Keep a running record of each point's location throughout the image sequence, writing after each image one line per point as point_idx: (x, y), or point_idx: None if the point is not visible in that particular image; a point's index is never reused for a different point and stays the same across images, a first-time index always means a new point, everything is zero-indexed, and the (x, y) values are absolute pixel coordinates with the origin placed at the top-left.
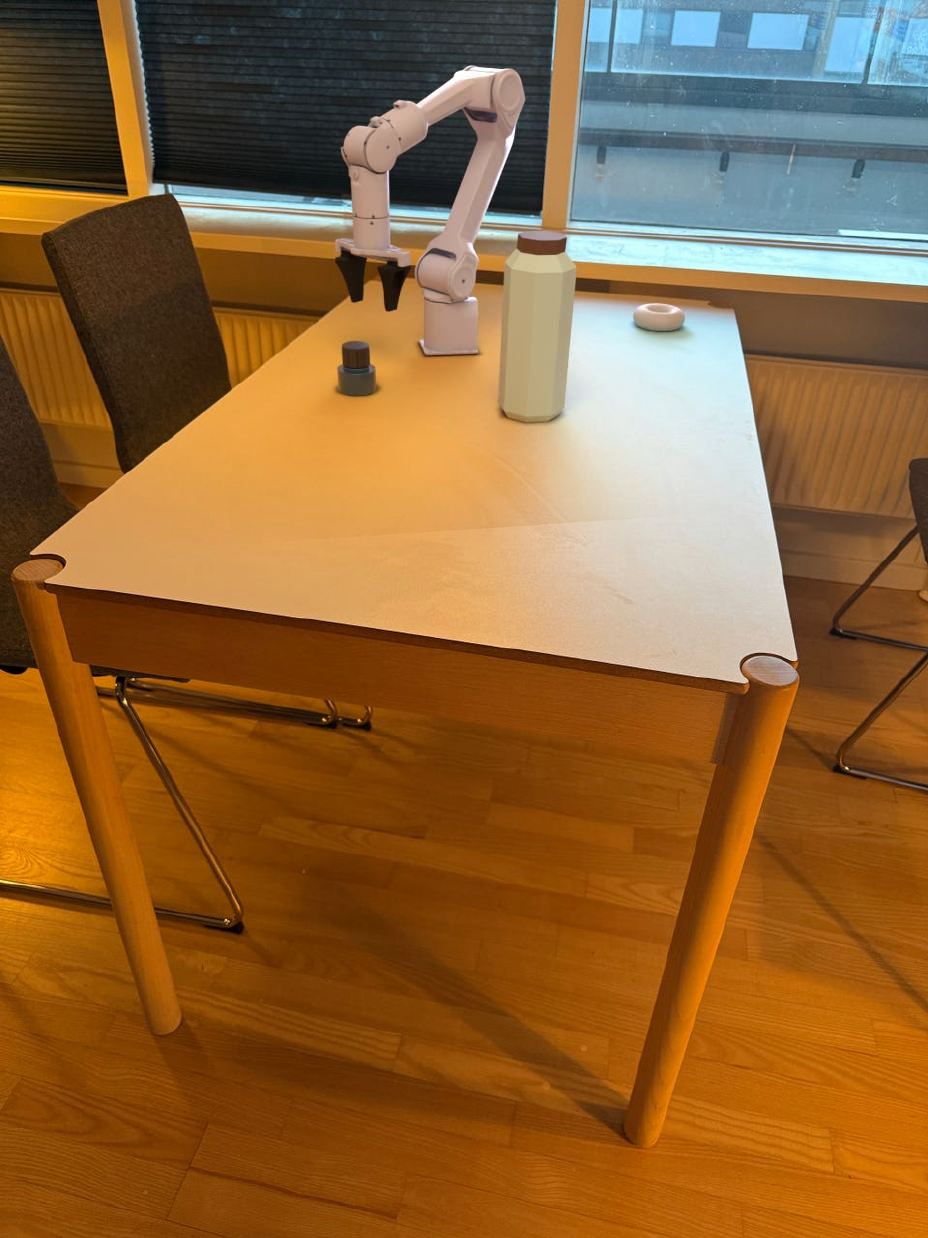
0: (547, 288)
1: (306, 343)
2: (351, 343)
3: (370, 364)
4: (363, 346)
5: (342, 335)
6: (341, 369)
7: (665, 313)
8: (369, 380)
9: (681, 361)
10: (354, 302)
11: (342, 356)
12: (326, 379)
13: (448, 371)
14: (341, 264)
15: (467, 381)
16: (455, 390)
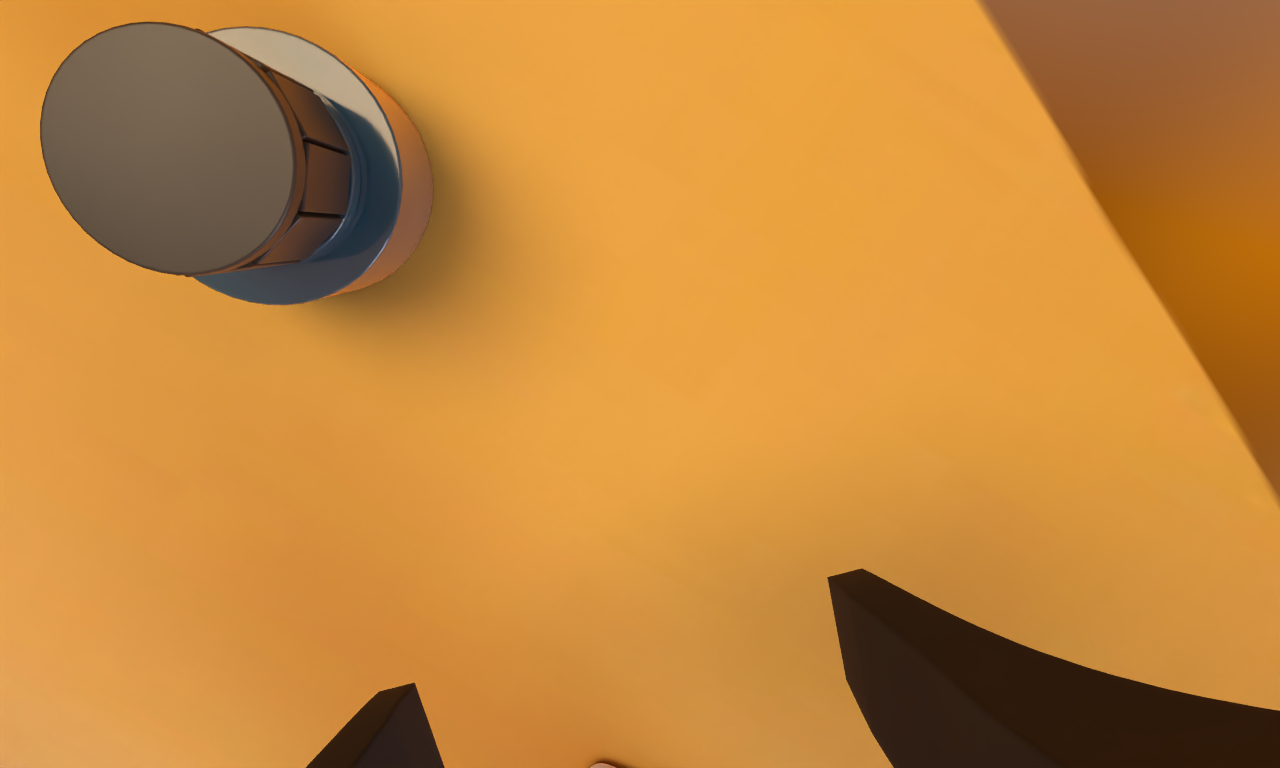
0: None
1: (1152, 357)
2: (229, 147)
3: (286, 293)
4: (96, 189)
5: (1130, 583)
6: (285, 61)
7: None
8: None
9: None
10: (828, 581)
11: (235, 48)
12: (567, 121)
13: (331, 731)
14: (1193, 757)
15: (146, 730)
16: (46, 613)
